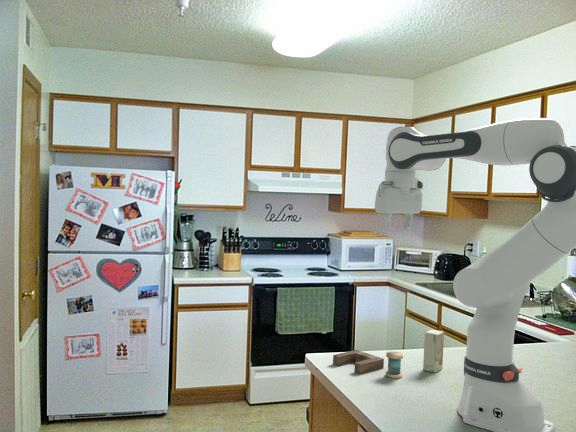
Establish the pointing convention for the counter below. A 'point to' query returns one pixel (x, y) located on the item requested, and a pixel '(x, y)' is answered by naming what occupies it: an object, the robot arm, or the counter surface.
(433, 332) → the skincare box
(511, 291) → the robot arm
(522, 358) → the counter surface
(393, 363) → the thread spool
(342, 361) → the notched board
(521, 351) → the counter surface
